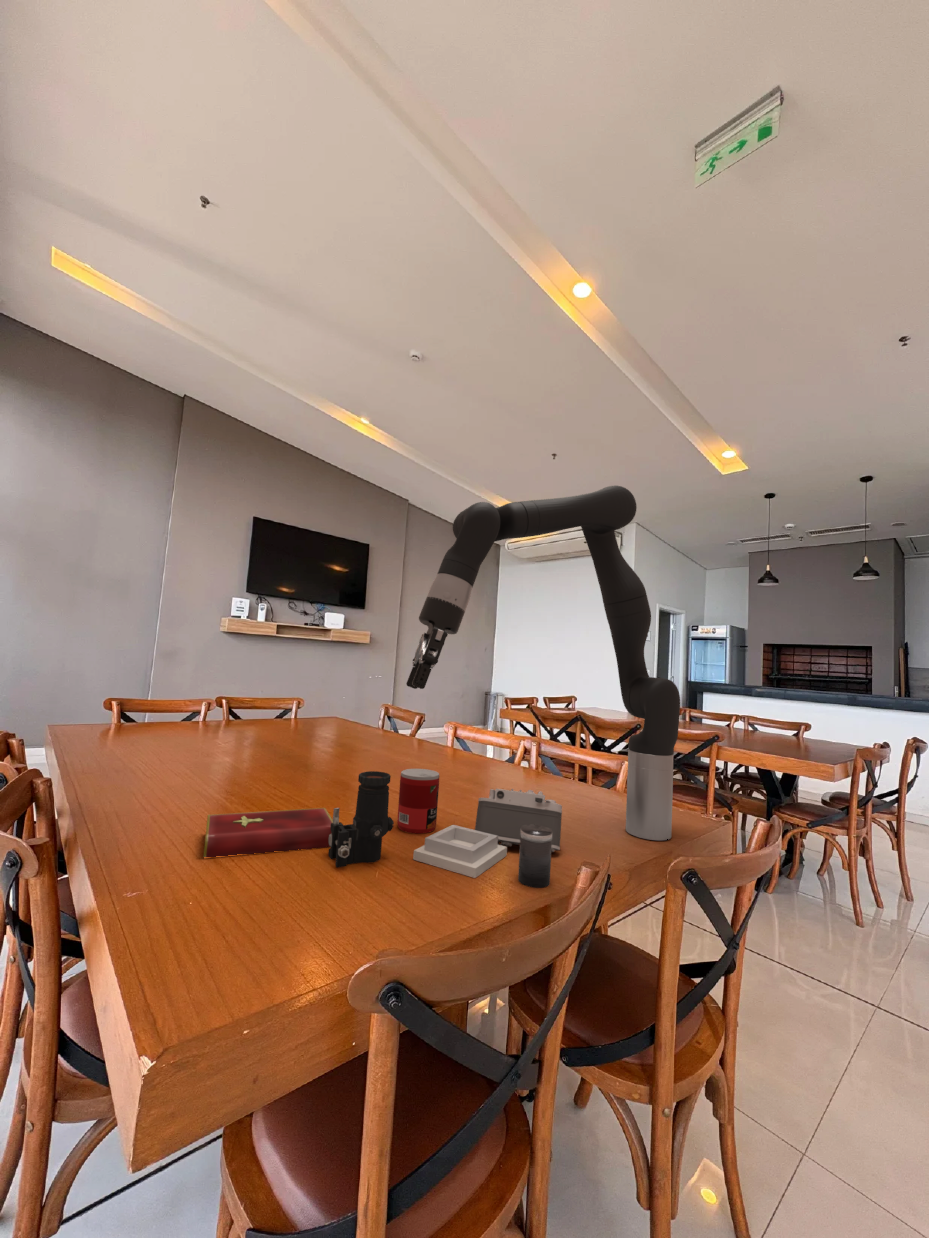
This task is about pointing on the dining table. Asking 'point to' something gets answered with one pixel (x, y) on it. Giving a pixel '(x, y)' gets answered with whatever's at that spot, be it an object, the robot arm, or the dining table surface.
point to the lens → (535, 856)
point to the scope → (363, 823)
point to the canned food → (418, 800)
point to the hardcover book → (267, 831)
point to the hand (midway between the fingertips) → (414, 687)
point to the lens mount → (461, 850)
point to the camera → (517, 815)
